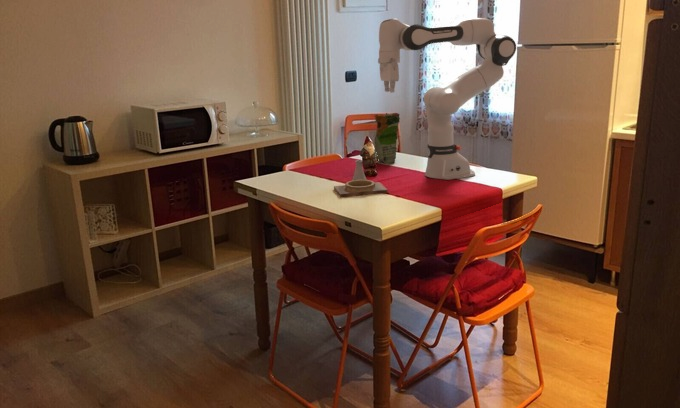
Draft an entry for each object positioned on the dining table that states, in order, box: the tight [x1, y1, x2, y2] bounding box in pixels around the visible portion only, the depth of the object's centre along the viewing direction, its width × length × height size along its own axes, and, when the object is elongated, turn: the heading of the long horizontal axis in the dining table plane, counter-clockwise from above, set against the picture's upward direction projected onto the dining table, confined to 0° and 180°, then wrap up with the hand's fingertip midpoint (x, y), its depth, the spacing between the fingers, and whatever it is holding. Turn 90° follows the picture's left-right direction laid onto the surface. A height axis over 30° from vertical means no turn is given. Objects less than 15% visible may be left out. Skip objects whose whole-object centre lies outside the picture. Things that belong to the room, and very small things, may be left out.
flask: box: [351, 159, 367, 181], centre depth 257 cm, size 7×7×10 cm
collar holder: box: [333, 179, 388, 199], centre depth 244 cm, size 20×13×4 cm, turn 102°
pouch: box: [373, 112, 401, 165], centre depth 292 cm, size 11×12×25 cm
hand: (389, 92), depth 249 cm, fingers open, 8 cm apart
